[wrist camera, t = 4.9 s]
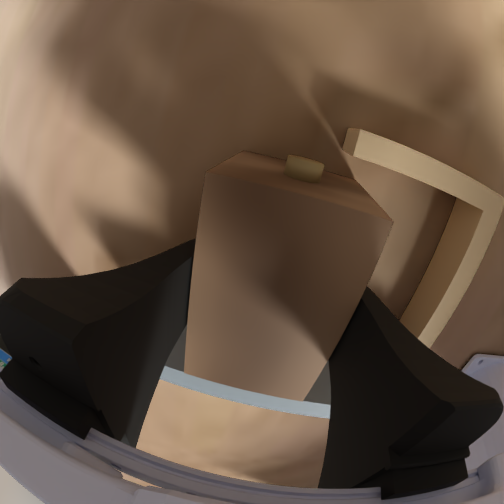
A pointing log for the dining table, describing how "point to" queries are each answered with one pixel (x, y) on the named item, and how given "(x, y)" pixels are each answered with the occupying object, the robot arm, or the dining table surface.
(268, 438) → the dining table surface
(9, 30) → the dining table surface
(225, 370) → the cabinet block
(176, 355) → the wall board
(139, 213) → the dining table surface
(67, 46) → the dining table surface
